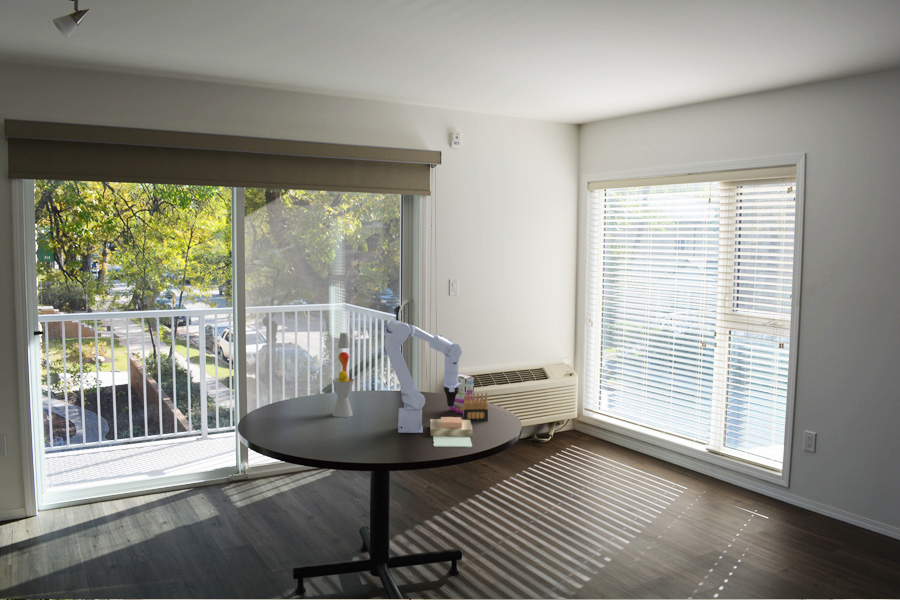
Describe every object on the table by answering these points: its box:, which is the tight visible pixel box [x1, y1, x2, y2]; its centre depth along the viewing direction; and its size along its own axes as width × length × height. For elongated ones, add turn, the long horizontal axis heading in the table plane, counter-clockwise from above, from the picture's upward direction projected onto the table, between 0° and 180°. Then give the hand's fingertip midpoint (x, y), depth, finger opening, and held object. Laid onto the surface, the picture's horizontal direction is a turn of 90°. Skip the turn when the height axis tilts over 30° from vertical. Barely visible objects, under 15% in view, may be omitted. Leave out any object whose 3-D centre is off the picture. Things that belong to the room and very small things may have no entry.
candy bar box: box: [449, 373, 475, 415], centre depth 282 cm, size 11×5×16 cm, turn 37°
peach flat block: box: [440, 416, 462, 428], centre depth 250 cm, size 8×8×2 cm
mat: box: [432, 436, 473, 448], centre depth 238 cm, size 14×12×1 cm
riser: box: [429, 418, 474, 438], centre depth 251 cm, size 16×14×3 cm
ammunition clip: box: [461, 392, 489, 422], centre depth 268 cm, size 11×2×12 cm, turn 101°
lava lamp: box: [332, 332, 355, 418], centre depth 271 cm, size 9×9×35 cm
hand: (450, 405), depth 259 cm, fingers closed
